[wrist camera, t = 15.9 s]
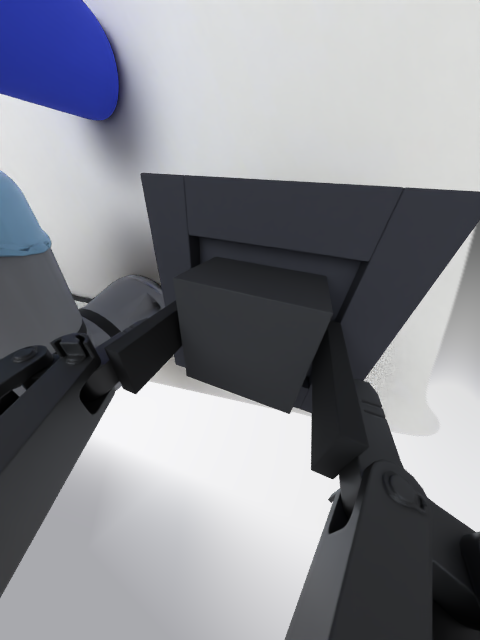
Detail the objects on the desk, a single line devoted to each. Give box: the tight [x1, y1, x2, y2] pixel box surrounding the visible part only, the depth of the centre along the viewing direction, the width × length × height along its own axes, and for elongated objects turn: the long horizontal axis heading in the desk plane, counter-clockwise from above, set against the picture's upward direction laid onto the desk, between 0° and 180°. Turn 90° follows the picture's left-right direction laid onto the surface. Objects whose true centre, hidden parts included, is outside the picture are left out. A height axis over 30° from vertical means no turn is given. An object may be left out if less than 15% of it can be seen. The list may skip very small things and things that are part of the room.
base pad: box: [141, 173, 480, 413], centre depth 13 cm, size 15×15×2 cm
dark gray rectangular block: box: [173, 257, 333, 414], centre depth 11 cm, size 7×7×4 cm
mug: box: [0, 0, 119, 120], centre depth 13 cm, size 8×12×10 cm
